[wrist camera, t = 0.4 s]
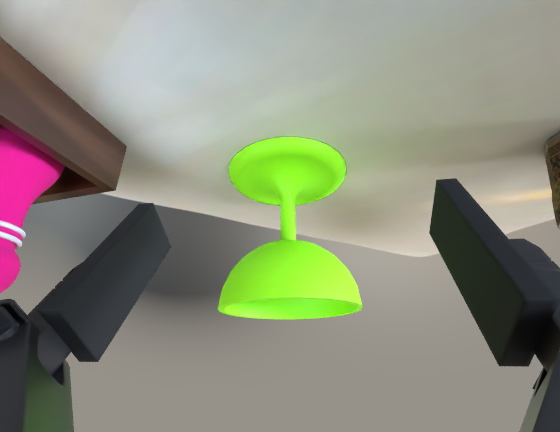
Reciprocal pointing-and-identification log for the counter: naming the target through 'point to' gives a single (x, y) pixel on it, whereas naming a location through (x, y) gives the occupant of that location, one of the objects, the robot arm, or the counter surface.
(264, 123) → the counter surface
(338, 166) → the wineglass
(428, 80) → the counter surface
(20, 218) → the pepper mill
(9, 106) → the caddy
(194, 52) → the counter surface
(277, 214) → the counter surface
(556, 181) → the ceramic cup
